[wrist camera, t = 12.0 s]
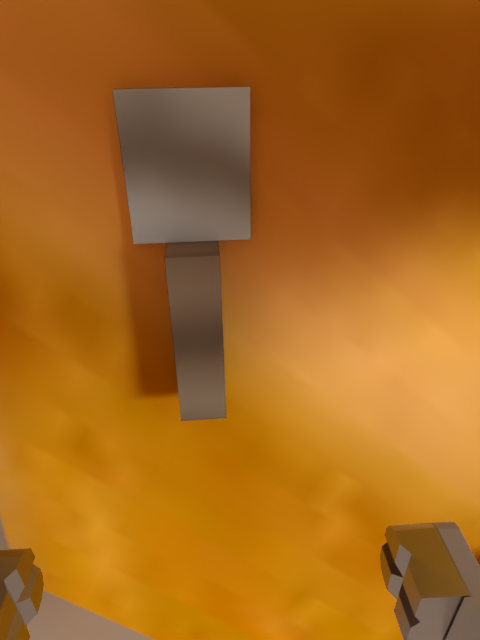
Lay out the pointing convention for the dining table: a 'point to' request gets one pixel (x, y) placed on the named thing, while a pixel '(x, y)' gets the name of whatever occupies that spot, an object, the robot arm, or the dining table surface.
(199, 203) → the turner
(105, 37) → the dining table surface
